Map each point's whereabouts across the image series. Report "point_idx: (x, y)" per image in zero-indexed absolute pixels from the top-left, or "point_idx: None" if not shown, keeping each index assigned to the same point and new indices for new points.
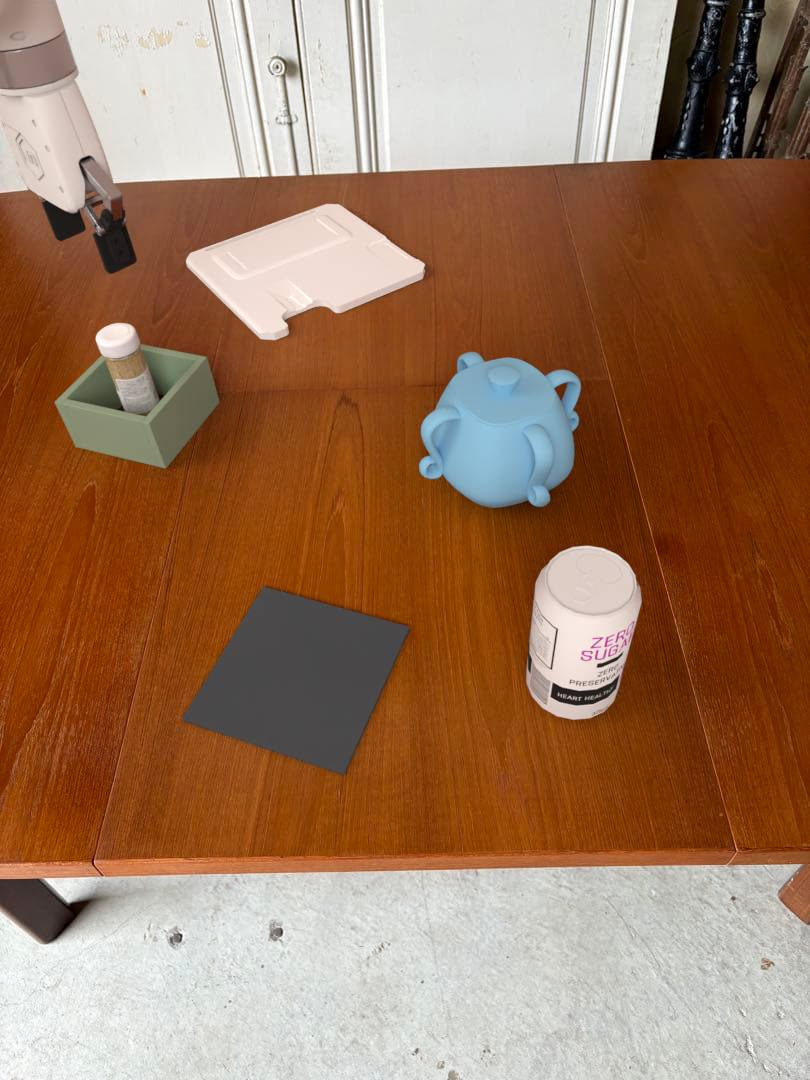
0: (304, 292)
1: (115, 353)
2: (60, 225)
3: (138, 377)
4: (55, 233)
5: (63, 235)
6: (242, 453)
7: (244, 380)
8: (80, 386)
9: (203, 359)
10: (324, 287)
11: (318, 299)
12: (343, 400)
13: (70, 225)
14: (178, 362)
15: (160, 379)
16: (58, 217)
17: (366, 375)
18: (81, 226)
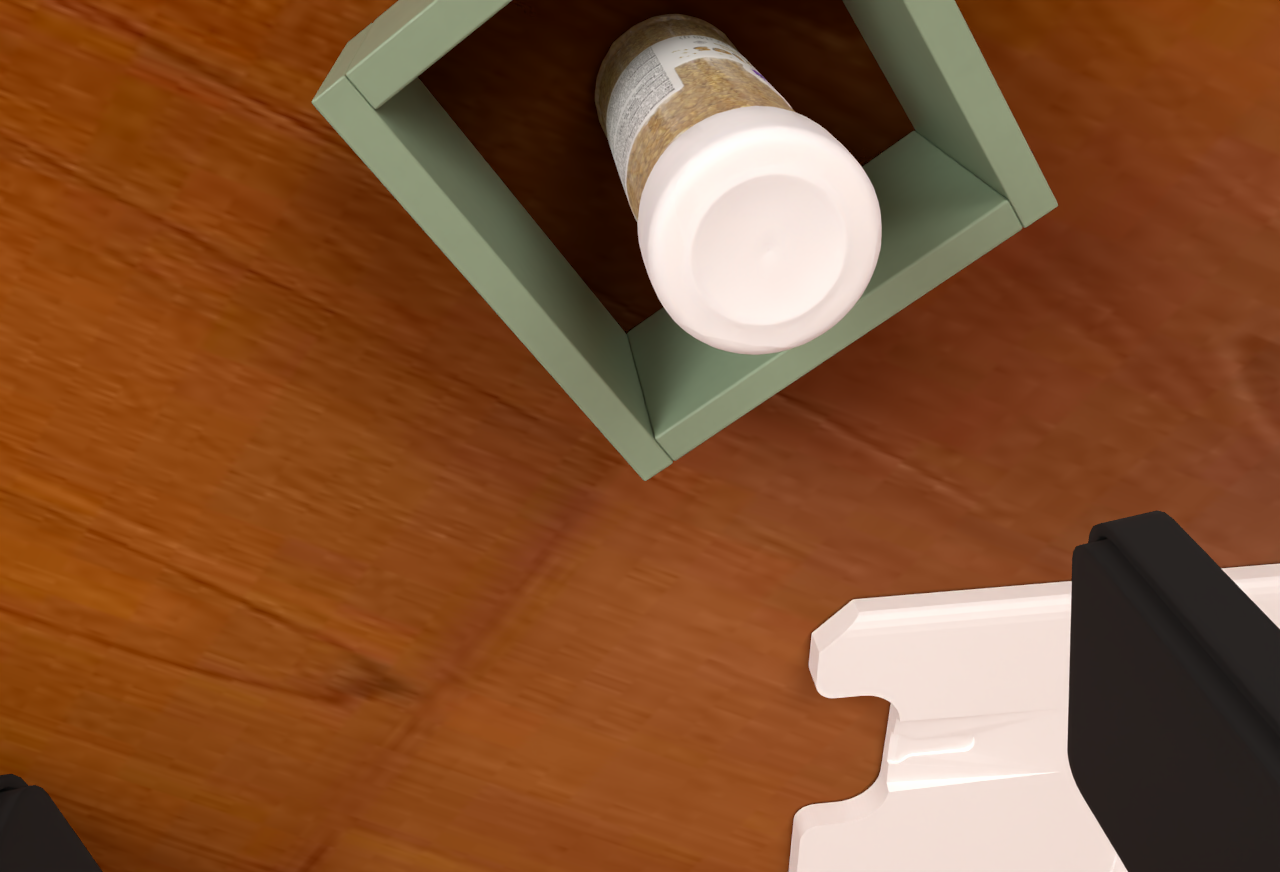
0: (945, 787)
1: (656, 180)
2: (1159, 706)
3: (626, 192)
4: (1151, 574)
5: (1100, 608)
6: (284, 330)
7: (681, 481)
8: None
9: (634, 465)
10: (921, 835)
11: (880, 804)
12: (378, 680)
13: (1126, 756)
14: (730, 367)
15: None
16: (1225, 797)
17: (456, 768)
18: (1095, 790)
